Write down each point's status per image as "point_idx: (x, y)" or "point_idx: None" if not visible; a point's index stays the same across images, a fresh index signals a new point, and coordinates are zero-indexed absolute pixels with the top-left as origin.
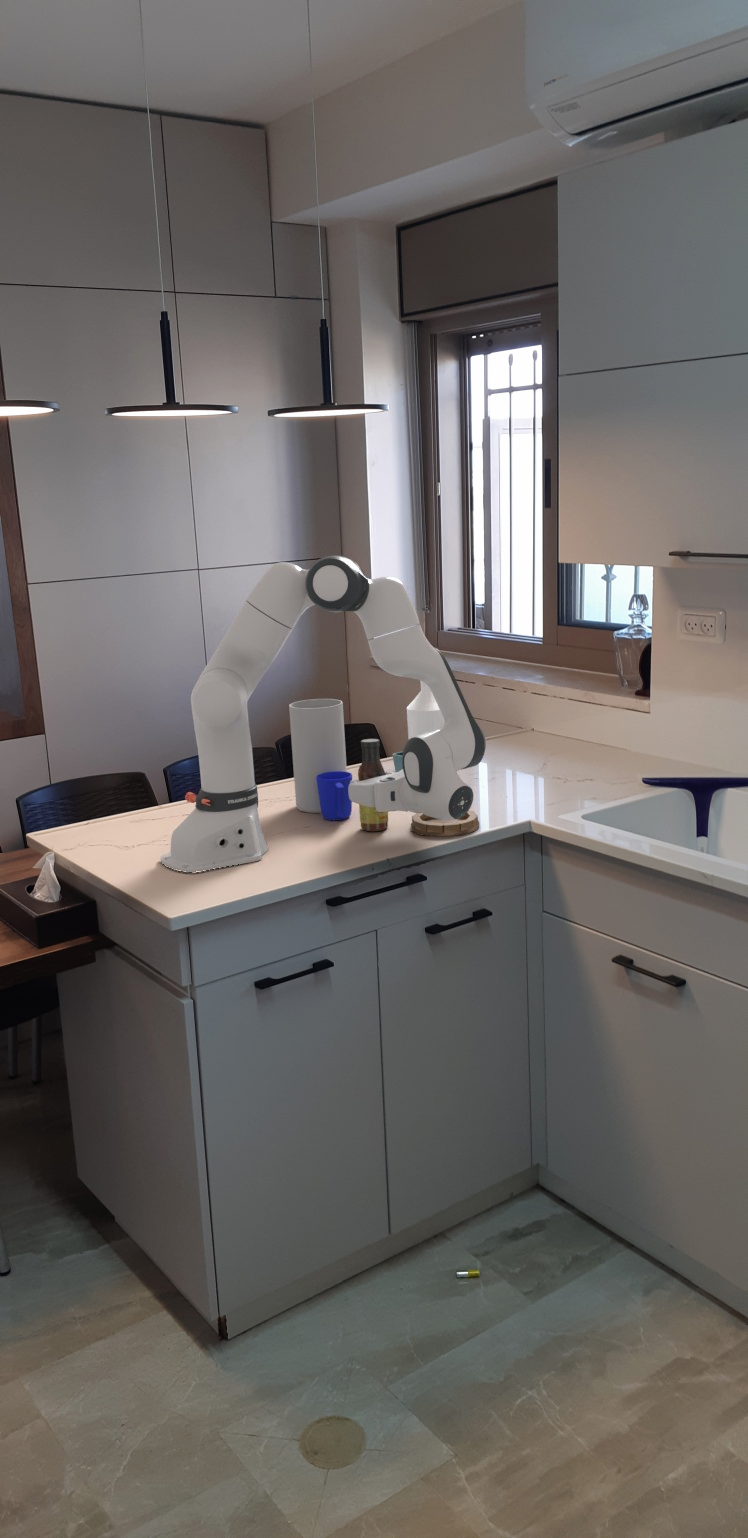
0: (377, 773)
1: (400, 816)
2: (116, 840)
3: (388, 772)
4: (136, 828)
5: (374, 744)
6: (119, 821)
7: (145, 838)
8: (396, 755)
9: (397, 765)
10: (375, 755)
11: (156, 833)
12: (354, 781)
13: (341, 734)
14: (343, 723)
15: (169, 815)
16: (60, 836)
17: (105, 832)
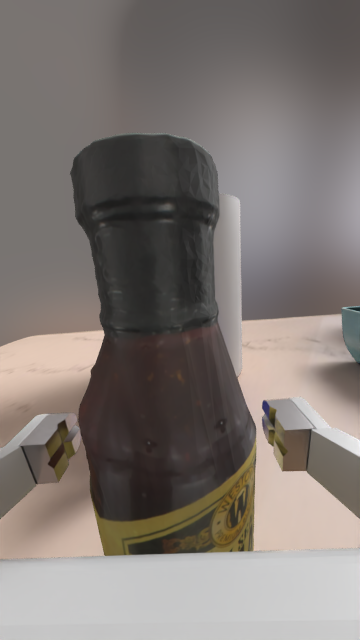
0: (141, 452)
1: (338, 516)
2: (12, 357)
3: (292, 409)
4: (56, 346)
5: (115, 169)
6: (74, 335)
7: (20, 362)
8: (350, 310)
9: (348, 326)
10: (141, 291)
11: (40, 358)
12: (10, 441)
13: (222, 259)
14: (233, 240)
15: (100, 338)
16: (26, 340)
17: (40, 344)
